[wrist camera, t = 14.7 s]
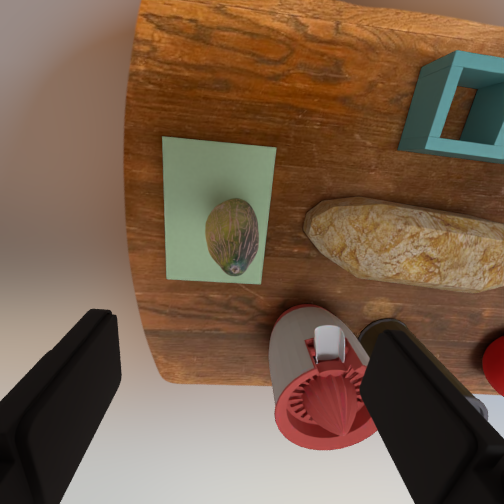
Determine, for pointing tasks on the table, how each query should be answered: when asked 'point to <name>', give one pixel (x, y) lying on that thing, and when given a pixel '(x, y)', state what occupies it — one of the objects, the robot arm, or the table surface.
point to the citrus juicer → (318, 380)
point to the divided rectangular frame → (439, 100)
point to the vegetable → (232, 235)
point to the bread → (409, 244)
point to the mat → (211, 202)
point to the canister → (377, 327)
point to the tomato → (495, 364)
